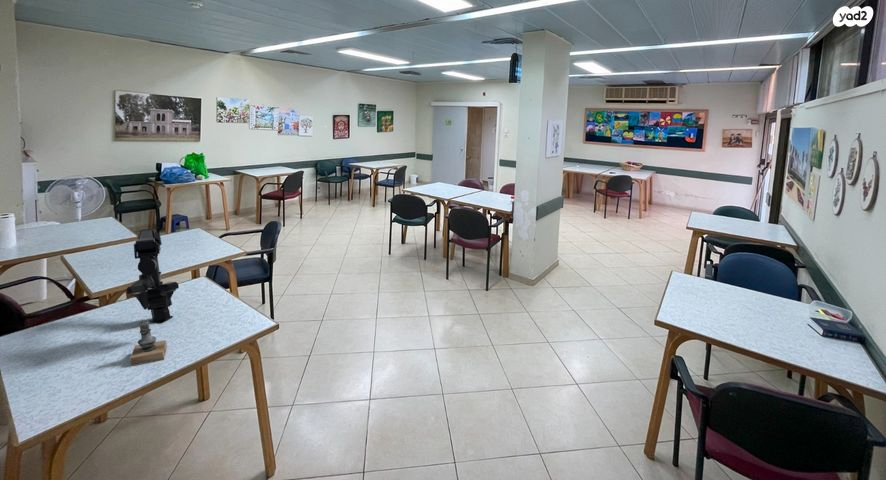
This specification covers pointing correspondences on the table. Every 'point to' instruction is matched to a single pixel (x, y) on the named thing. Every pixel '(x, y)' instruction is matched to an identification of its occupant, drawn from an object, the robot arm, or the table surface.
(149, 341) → the grey chess bishop
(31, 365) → the table surface
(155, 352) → the walnut pedestal
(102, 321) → the table surface
